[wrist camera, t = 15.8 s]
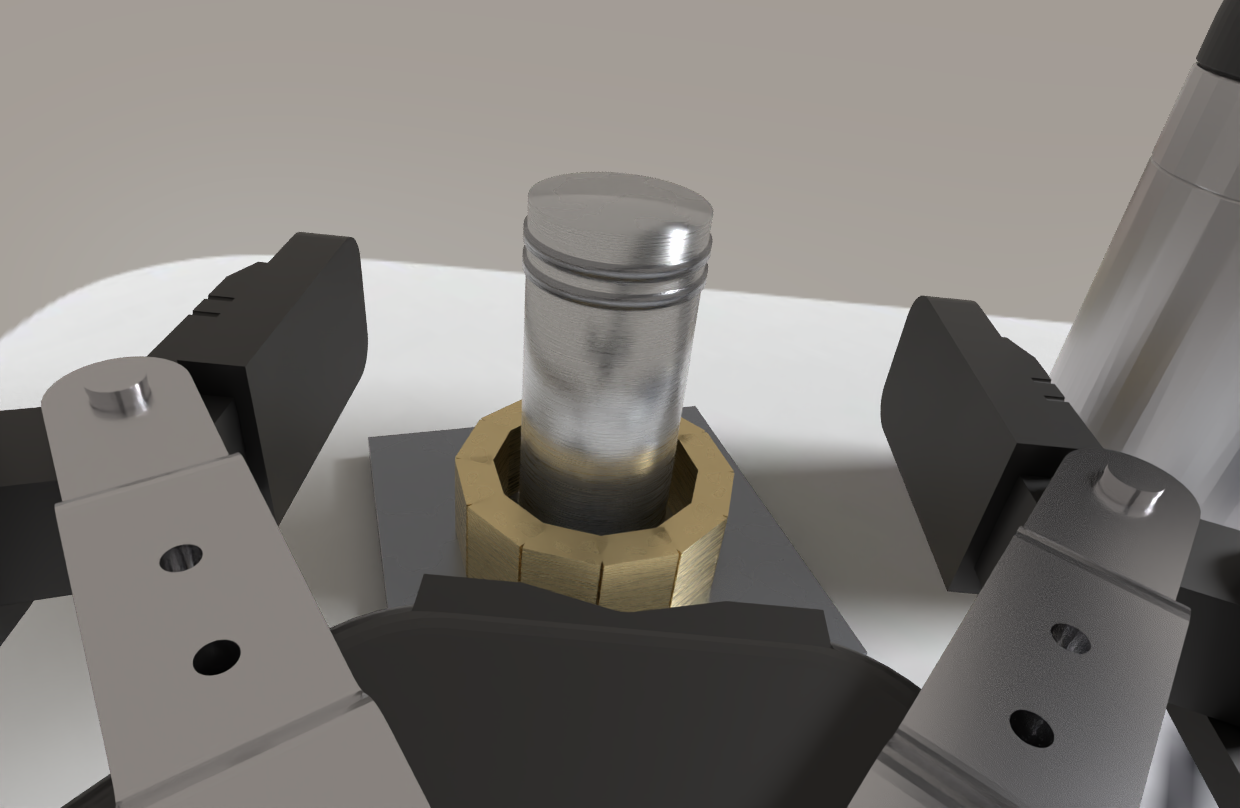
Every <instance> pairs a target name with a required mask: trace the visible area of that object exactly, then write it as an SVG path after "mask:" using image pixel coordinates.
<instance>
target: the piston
mask: <svg viewBox="0 0 1240 808" xmlns="http://www.w3.org/2000/svg"><path fill="white" fill-rule="evenodd" d="M712 217H713V208H712V206H711V204H710V203H709V202H708V201H707V200H706V199H705V198H704V197H702V196H701V195H699V194H698V193H696V192H694V191H692V190H690V189H688V188H685V187H683V186H680V185H677V184H674V183H671V182H667V181H664V180H660V179H656V178H651V177H646V176H640V175H633V174H625V173H613V172H581V173H571V174H563V175H559V176H554V177H551V178H548V179H545V180H542V181H540V182H538V183H537V184H535V185H534V186H533V187H532V188H531V189H530V191H529V193H528V215H527V216H526V218H525V220H524V228H523V230H524V231H523V240H524V244H525V245H524V249H523V270H524V273H525V275H526V285H525V318H524V352H523V385H522V419H521V452H520V486H519V506H521V507H522V508H523V509H525V510H526V511H527V512H529V513H530V514H532V515H533V516H534V517H536V518H537V519H538V520H540V521H541V522H543V523H545V524H550V525H554V526H559V527H563V528H567V529H572V530H576V531H581V532H585V533H590V534H594V535H599V536H604V535H611V534H618V533H625V532H631V531H638V530H645V529H652V528H657V527H658V526H660V525H661V524H662V523H664V522H665V515H666V509H667V502H668V496H669V490H670V483H671V477H672V471H673V464H674V458H675V452H676V445H677V439H678V433H679V426H680V420H681V414H682V407H683V401H684V395H685V388H686V382H687V376H688V369H689V363H690V357H691V350H692V344H693V338H694V331H695V325H696V319H697V312H698V306H699V300H700V293H701V291H702V290H703V289H704V286H705V284H706V278H707V272H708V264H707V262H708V260H709V258H710V253H711V247H712V236H711V234H710V229H711V223H712Z"/></svg>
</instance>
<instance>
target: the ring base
mask: <svg viewBox="0 0 1240 808" xmlns="http://www.w3.org/2000/svg"><path fill="white" fill-rule="evenodd" d="M521 419H522V400H520V401H517V402H515V403H513V404H511V405H509V406H507V407H505V408H502V409H500V410H498V411H496V412H494V413H492V414H489V415H487V416H485V417H483V418H482V420H479V422H478V423H477V425H476V426H475V427H472V428H462V429H451V430H441V431H430V432H420V433H409V434H399V435H388V436H378V437H368V440H369V453H370V463H371V472H372V480H373V489H374V498H375V506H376V515H377V523H378V532H379V541H380V549H381V558H382V566H383V575H384V584H385V592H386V601H387V609H388V608H393V607H398V606H404V605H412V604H414V603H415V600H416V597H417V594H418V590H419V587H420V584H421V581H422V578H423V575H424V574H433V575H444V576H455V577H466V578H477V579H488V580H500V581H511V582H522V583H526V584H529V585H532V586H536V587H539V588H542V589H546V590H549V591H552V592H556V593H559V594H562V595H566V596H569V597H572V598H576V599H579V600H582V601H585V602H589V603H592V604H595V605H599V606H602V607H605V608H609V609H612V610H616V611H620V612H638V611H646V610H655V609H663V608H671V607H680V606H688V605H697V604H705V603H714V602H722V601H732V602H743V603H754V604H765V605H776V606H787V607H798V608H809V609H820V610H823V611H824V615H825V619H826V624H827V628H828V633H829V637H830V642H833V643H836V644H839V645H842V646H845V647H847V648H850V649H852V650H855V651H857V652H859V653H862V654H864V655H866V654H867V651H866V650H865V648H864V647H863V646H862V644H861V643H860V641H859V640H858V638H857V637H856V636H855V634H854V633H853V631H852V630H851V628H850V627H849V626H848V624H847V623H846V621H845V620H844V618H843V617H842V616H841V614H840V613H839V611H838V610H837V608H836V607H835V606H834V604H833V603H832V601H831V600H830V598H829V597H828V596H827V594H826V593H825V591H824V590H823V588H822V587H821V586H820V584H819V583H818V581H817V580H816V578H815V577H814V575H813V574H812V573H811V571H810V570H809V568H808V567H807V565H806V564H805V563H804V561H803V560H802V558H801V557H800V555H799V554H798V553H797V551H796V550H795V548H794V547H793V545H792V544H791V543H790V541H789V540H788V538H787V537H786V535H785V534H784V533H783V531H782V530H781V528H780V527H779V525H778V524H777V523H776V521H775V520H774V518H773V517H772V515H771V514H770V513H769V511H768V510H767V508H766V507H765V505H764V504H763V502H762V501H761V500H760V498H759V497H758V495H757V494H756V492H755V491H754V490H753V488H752V487H751V485H750V484H749V482H748V481H747V480H746V478H745V477H744V475H743V474H742V472H741V471H740V470H739V468H738V467H737V465H736V464H735V462H734V461H733V460H732V458H731V457H730V455H729V454H728V452H727V451H726V450H725V448H724V447H723V445H722V444H721V442H720V441H719V440H718V438H717V437H716V435H715V434H714V432H713V431H712V430H711V428H710V427H709V425H708V424H707V422H706V421H705V419H704V418H703V417H702V415H701V414H700V412H699V411H698V409H697V408H696V407H695V406H692V407H682V414H681V420H680V426H679V433H678V439H677V445H676V452H675V458H674V464H673V471H672V477H671V483H670V490H669V496H668V502H667V509H666V515H665V522H664V523H662V524H661V525H660V526H658V527H657V528H652V529H645V530H638V531H631V532H625V533H618V534H611V535H604V536H599V535H594V534H590V533H585V532H581V531H576V530H572V529H567V528H563V527H559V526H554V525H550V524H545V523H543V522H541V521H540V520H538V519H537V518H536V517H534V516H533V515H532V514H530V513H529V512H527V511H526V510H525V509H523V508H522V507H521V506H519V486H520V452H521Z"/></svg>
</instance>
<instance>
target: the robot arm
mask: <svg viewBox="0 0 1240 808" xmlns="http://www.w3.org/2000/svg"><path fill="white" fill-rule="evenodd" d="M1196 59H1197V61H1198V62H1196V63H1194V64H1193V65H1192V67H1191V70H1190V72H1189V74H1188V76H1187V78H1186V80H1185V83H1184V85H1183V87H1182V89H1181V91H1180V93H1179V96H1178V98H1177V100H1176V102H1175V104H1174V106H1173V109H1172V111H1171V113H1170V115H1169V117H1168V119H1167V121H1166V124H1165V126H1164V128H1163V131H1162V132H1161V134H1160V137H1159V139H1158V141H1157V143H1156V145H1155V147H1154V150H1153V152H1152V156H1151V157H1150V159H1149V161H1148V163H1147V166H1146V168H1145V170H1144V172H1143V174H1142V176H1141V179H1140V181H1139V183H1138V185H1137V187H1136V189H1135V191H1134V194H1133V196H1132V198H1131V200H1130V202H1129V205H1128V207H1127V209H1126V211H1125V213H1124V215H1123V217H1122V220H1121V222H1120V224H1119V226H1118V228H1117V230H1116V232H1115V235H1114V237H1113V239H1112V241H1111V243H1110V245H1109V248H1108V250H1107V252H1106V254H1105V256H1104V258H1103V261H1102V263H1101V265H1100V267H1099V269H1098V272H1097V273H1096V276H1095V278H1094V280H1093V282H1092V284H1091V287H1090V289H1089V291H1088V293H1087V295H1086V297H1085V299H1084V302H1083V304H1082V306H1081V308H1080V310H1079V313H1078V315H1077V317H1076V319H1075V321H1074V323H1073V325H1072V327H1071V330H1070V332H1069V334H1068V336H1067V338H1066V340H1065V343H1064V345H1063V347H1062V349H1061V351H1060V353H1059V356H1058V358H1057V360H1056V362H1055V364H1054V366H1053V368H1052V371H1051V373H1050V375H1049V376H1048V374H1047V373H1046V372H1045V370H1044V369H1043V368H1042V366H1041V365H1040V364H1039V362H1038V361H1037V360H1036V358H1035V357H1033V356H1032V355H1030V354H1029V353H1028V352H1026V351H1025V350H1023V349H1022V348H1020V347H1019V346H1018V345H1016V344H1015V343H1013V342H1012V341H1011V340H1009V339H1008V338H1006V337H1001V336H1000V334H999V333H998V331H997V330H996V329H995V327H994V326H993V325H992V323H991V322H990V320H989V319H988V318H987V316H986V315H985V313H984V312H983V311H982V309H981V308H980V306H979V305H978V304H977V303H976V302H975V301H969V300H960V299H949V298H939V297H930V296H920V297H918V298H917V299H916V300H915V302H914V303H913V305H912V307H911V309H910V311H909V314H908V316H907V319H906V322H905V325H904V328H903V331H902V334H901V337H900V340H899V343H898V346H897V349H896V352H895V355H894V358H893V361H892V364H891V367H890V370H889V373H888V376H887V379H886V382H885V385H884V389H883V393H882V399H881V423H882V428H883V431H884V433H885V436H886V438H887V441H888V443H889V446H890V448H891V451H892V453H893V456H894V458H895V461H896V463H897V466H898V468H899V471H900V473H901V476H902V478H903V481H904V483H905V486H906V488H907V491H908V493H909V496H910V498H911V501H912V503H913V506H914V508H915V511H916V513H917V516H918V518H919V521H920V523H921V526H922V528H923V531H924V533H925V536H926V538H927V541H928V544H929V546H930V549H931V551H932V554H933V556H934V559H935V561H936V564H937V566H938V569H939V571H940V574H941V576H942V579H943V581H944V584H945V586H946V589H947V591H951V592H962V593H972V594H979V595H978V596H977V598H976V600H975V601H974V603H973V605H972V606H971V608H970V610H969V611H968V613H967V615H966V616H965V618H964V620H963V621H962V623H961V625H960V626H959V628H958V630H957V631H956V633H955V635H954V636H953V638H952V640H951V641H950V643H949V645H948V646H947V648H946V650H945V651H944V653H943V654H942V656H941V658H940V659H939V661H938V663H937V664H936V666H935V668H934V669H933V671H932V673H931V674H930V676H929V678H928V679H927V681H926V683H925V684H924V686H923V688H922V689H920V688H919V687H918V686H916V685H915V684H914V683H912V682H911V681H910V680H908V679H907V678H905V677H904V676H902V675H900V674H899V673H897V672H896V671H894V670H892V669H891V668H889V667H888V666H886V665H884V664H882V663H880V662H878V661H876V660H874V659H872V658H870V657H868V656H866V655H864V654H862V653H859V652H857V651H855V650H852V649H850V648H847V647H845V646H842V645H839V644H836V643H833V642H830V637H829V633H828V628H827V624H826V619H825V615H824V611H823V610H820V609H809V608H798V607H787V606H776V605H765V604H754V603H743V602H732V601H722V602H714V603H705V604H697V605H688V606H680V607H671V608H663V609H655V610H646V611H638V612H620V611H616V610H612V609H609V608H605V607H602V606H599V605H595V604H592V603H589V602H585V601H582V600H579V599H576V598H572V597H569V596H566V595H562V594H559V593H556V592H552V591H549V590H546V589H542V588H539V587H536V586H532V585H529V584H526V583H522V582H511V581H500V580H488V579H477V578H466V577H455V576H444V575H433V574H424V575H423V578H422V581H421V584H420V587H419V590H418V594H417V597H416V600H415V603H414V604H412V605H404V606H398V607H393V608H388V609H384V610H379V611H375V612H372V613H369V614H366V615H362V616H359V617H356V618H353V619H350V620H348V621H346V622H343V623H341V624H339V625H336V626H334V627H332V628H329V627H328V625H327V623H326V621H325V619H324V617H323V615H322V613H321V611H320V609H319V607H318V605H317V603H316V601H315V599H314V597H313V595H312V593H311V591H310V589H309V587H308V585H307V583H306V581H305V579H304V577H303V575H302V573H301V571H300V569H299V567H298V565H297V563H296V561H295V559H294V557H293V555H292V553H291V551H290V549H289V547H288V545H287V543H286V541H285V539H284V537H283V535H282V533H281V531H280V529H279V528H278V526H279V524H280V522H281V521H282V519H283V517H284V515H285V513H286V512H287V510H288V508H289V506H290V504H291V503H292V501H293V499H294V497H295V495H296V494H297V492H298V490H299V488H300V486H301V485H302V483H303V481H304V479H305V477H306V476H307V474H308V472H309V470H310V468H311V467H312V465H313V463H314V461H315V459H316V458H317V456H318V454H319V452H320V450H321V449H322V447H323V445H324V443H325V441H326V440H327V438H328V436H329V434H330V432H331V431H332V429H333V427H334V425H335V423H336V422H337V420H338V418H339V416H340V414H341V413H342V411H343V409H344V407H345V406H346V404H347V402H348V400H349V398H350V397H351V395H352V393H353V391H354V389H355V388H356V386H357V384H358V382H359V380H360V379H361V376H362V374H363V371H364V368H365V364H366V358H367V350H368V333H367V323H366V312H365V302H364V292H363V281H362V271H361V261H360V253H359V248H358V245H357V243H356V241H355V239H354V238H352V237H345V236H335V235H324V234H314V233H305V232H298V233H296V234H295V235H294V236H293V237H292V238H291V239H290V240H289V241H288V242H287V243H286V244H285V245H284V246H283V247H282V249H281V250H280V251H279V252H278V253H277V254H276V255H275V256H274V257H273V258H272V259H271V260H270V261H269V262H268V263H264V262H257V263H255V264H253V265H251V266H248V267H246V268H244V269H242V270H240V271H238V272H236V273H233V274H231V275H229V276H227V277H226V278H225V279H224V280H223V281H222V282H221V283H220V284H219V285H218V286H217V287H216V288H215V289H214V290H213V291H212V292H211V293H210V294H209V295H208V299H204V300H203V301H202V302H201V303H200V304H199V305H198V306H197V307H196V308H195V309H194V310H193V315H188V316H187V317H186V318H185V319H184V320H183V321H182V322H181V323H180V324H179V325H178V326H177V327H176V328H175V329H174V330H173V331H172V332H171V333H170V334H169V335H168V336H167V337H166V338H165V339H164V340H163V341H162V342H161V343H160V344H159V345H158V346H157V347H156V348H155V349H154V350H153V351H152V352H151V353H150V354H149V355H148V356H147V357H124V358H116V359H110V360H106V361H102V362H97V363H94V364H91V365H88V366H85V367H82V368H80V369H78V370H75V371H73V372H71V373H69V374H67V375H66V376H64V377H62V378H61V379H59V380H58V381H57V382H55V383H54V384H53V385H52V386H51V387H50V388H49V389H48V390H47V391H46V393H45V394H44V396H43V399H42V401H41V407H37V408H27V409H15V410H4V411H0V646H1V645H2V643H3V642H4V641H5V639H6V638H7V637H8V635H9V634H10V633H11V631H12V630H13V629H14V627H15V626H16V625H17V623H18V622H19V620H20V619H21V618H22V616H23V615H24V614H25V612H26V611H27V610H28V608H29V607H30V606H31V604H32V602H33V601H34V600H40V599H46V598H53V597H60V596H66V595H73V599H74V603H75V608H76V613H77V618H78V622H79V627H80V632H81V636H82V641H83V646H84V651H85V655H86V660H87V665H88V669H89V674H90V679H91V684H92V688H93V693H94V698H95V703H96V707H97V712H98V717H99V721H100V726H101V731H102V736H103V740H104V745H105V750H106V754H107V759H108V764H109V769H110V773H111V774H109V775H108V776H106V777H105V778H103V779H102V780H100V781H99V782H98V783H96V784H95V785H93V786H92V787H90V788H89V789H87V790H86V791H84V792H83V793H81V794H80V795H79V796H77V797H76V798H74V799H73V800H71V801H70V802H68V803H67V804H65V805H64V806H62V807H61V808H1139V806H1140V803H1141V799H1142V795H1143V792H1144V788H1145V784H1146V780H1147V777H1148V773H1149V769H1150V766H1151V762H1152V758H1153V755H1154V751H1155V747H1156V743H1157V740H1158V736H1159V732H1160V729H1161V725H1162V721H1163V718H1164V714H1165V710H1166V709H1167V711H1168V713H1169V715H1170V717H1171V719H1172V721H1173V722H1174V724H1175V726H1176V728H1177V730H1178V732H1179V734H1180V736H1181V737H1182V739H1183V741H1184V743H1185V745H1186V747H1187V749H1188V751H1189V752H1190V754H1191V756H1192V758H1193V760H1194V762H1195V764H1196V765H1197V767H1198V769H1199V771H1200V773H1201V775H1202V777H1203V779H1204V780H1205V782H1206V784H1207V786H1208V788H1209V790H1210V792H1211V794H1212V795H1213V797H1214V799H1215V801H1216V803H1217V805H1218V807H1219V808H1240V0H1224V1H1223V3H1222V5H1221V6H1220V8H1219V10H1218V12H1217V14H1216V16H1215V18H1214V20H1213V22H1212V24H1211V27H1210V29H1209V31H1208V33H1207V35H1206V37H1205V40H1204V42H1203V44H1202V46H1201V48H1200V51H1199V53H1198V55H1197V57H1196Z"/></svg>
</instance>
